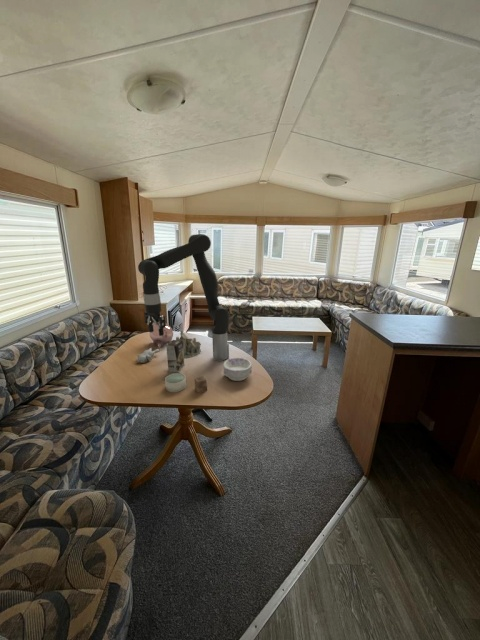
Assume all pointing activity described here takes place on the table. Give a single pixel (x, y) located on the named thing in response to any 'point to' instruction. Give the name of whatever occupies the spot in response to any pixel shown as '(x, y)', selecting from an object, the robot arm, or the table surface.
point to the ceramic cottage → (189, 345)
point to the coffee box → (175, 355)
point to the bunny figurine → (146, 355)
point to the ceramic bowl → (175, 382)
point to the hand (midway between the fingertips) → (156, 333)
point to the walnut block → (200, 384)
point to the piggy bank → (164, 338)
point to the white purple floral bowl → (237, 368)
